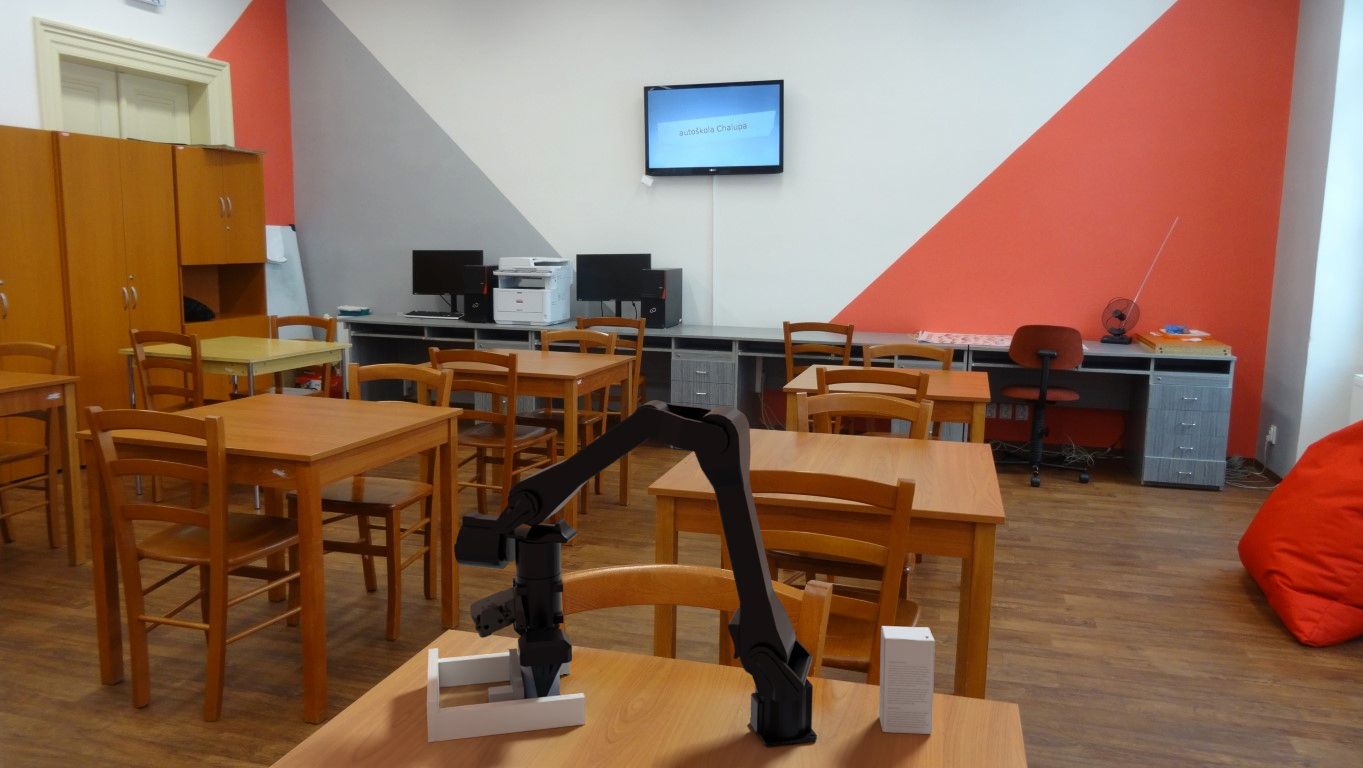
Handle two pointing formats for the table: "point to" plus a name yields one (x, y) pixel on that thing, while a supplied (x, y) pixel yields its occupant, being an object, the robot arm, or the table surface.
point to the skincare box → (906, 679)
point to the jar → (530, 685)
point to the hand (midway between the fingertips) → (540, 688)
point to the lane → (496, 714)
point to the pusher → (516, 684)
